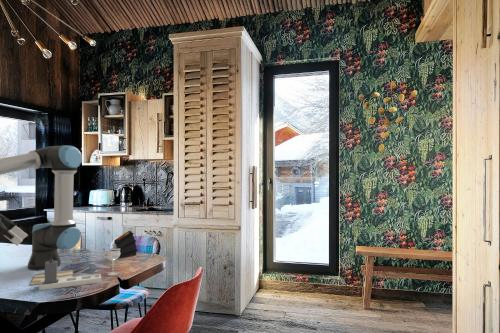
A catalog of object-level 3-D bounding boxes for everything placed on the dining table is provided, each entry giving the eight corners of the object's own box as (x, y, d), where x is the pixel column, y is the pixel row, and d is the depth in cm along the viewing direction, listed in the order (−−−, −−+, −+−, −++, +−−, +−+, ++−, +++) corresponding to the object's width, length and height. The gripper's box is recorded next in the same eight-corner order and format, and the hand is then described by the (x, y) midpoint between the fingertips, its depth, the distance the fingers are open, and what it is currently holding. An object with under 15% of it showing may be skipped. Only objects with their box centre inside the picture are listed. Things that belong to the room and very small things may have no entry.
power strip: (40, 286, 145) (41, 279, 145) (100, 279, 156) (100, 273, 156) (38, 291, 139) (39, 284, 139) (101, 283, 150) (101, 277, 150)
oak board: (35, 276, 159) (35, 274, 159) (72, 272, 166) (72, 270, 166) (30, 286, 145) (30, 283, 145) (71, 281, 152) (71, 279, 152)
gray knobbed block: (45, 285, 145) (46, 259, 145) (56, 284, 147) (57, 258, 147) (44, 288, 141) (45, 262, 141) (56, 287, 143) (56, 261, 143)
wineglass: (105, 276, 160) (106, 251, 161) (105, 272, 166) (106, 248, 167) (120, 274, 163) (120, 250, 163) (120, 271, 169) (120, 247, 169)
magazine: (141, 251, 206) (132, 231, 201) (123, 264, 196) (113, 243, 192) (138, 250, 208) (129, 230, 204) (120, 263, 199) (110, 242, 194)
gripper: (-21, 209, 143) (20, 241, 150) (-40, 216, 121) (9, 253, 127) (-5, 197, 146) (34, 229, 152) (-21, 201, 124) (25, 238, 130)
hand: (22, 240), depth 140 cm, fingers open, 13 cm apart
